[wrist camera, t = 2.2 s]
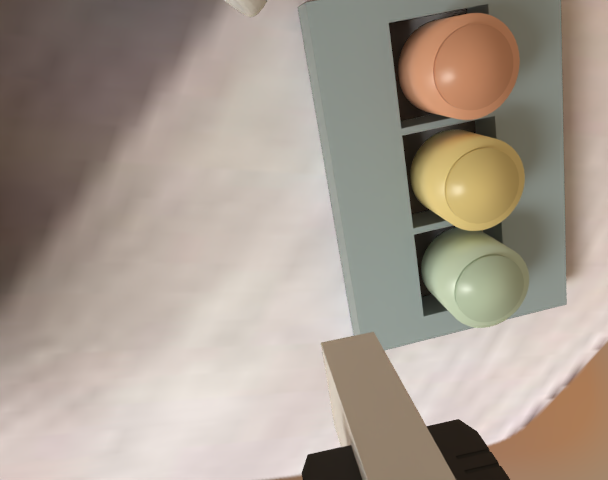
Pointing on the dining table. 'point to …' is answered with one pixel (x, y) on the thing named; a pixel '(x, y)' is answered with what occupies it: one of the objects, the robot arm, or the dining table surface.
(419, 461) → the robot arm
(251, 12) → the cup
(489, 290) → the button sage
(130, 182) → the dining table surface
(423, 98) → the button terracotta
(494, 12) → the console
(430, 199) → the button ochre
